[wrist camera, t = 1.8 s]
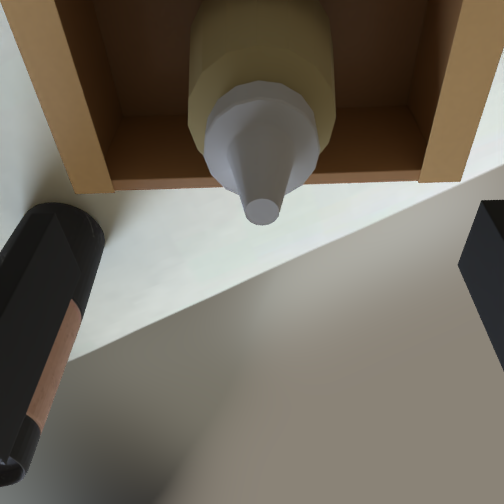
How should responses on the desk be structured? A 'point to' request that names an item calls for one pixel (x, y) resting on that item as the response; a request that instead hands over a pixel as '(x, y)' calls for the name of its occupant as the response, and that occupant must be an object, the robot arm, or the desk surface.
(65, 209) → the travel mug
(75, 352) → the desk surface
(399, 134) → the wooden box
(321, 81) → the squeeze bottle
